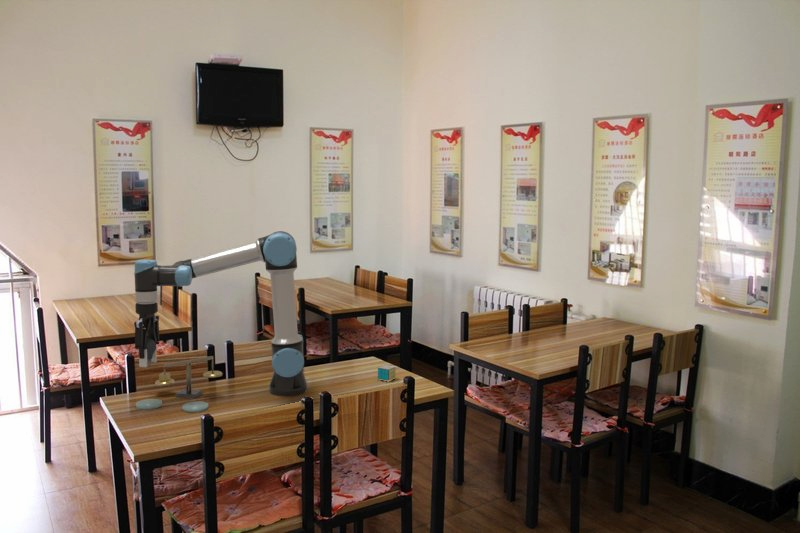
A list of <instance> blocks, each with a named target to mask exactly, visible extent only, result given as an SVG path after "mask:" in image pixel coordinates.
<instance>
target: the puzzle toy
mask: <svg viewBox="0 0 800 533" xmlns="http://www.w3.org/2000/svg"><path fill="white" fill-rule="evenodd" d="M396 370H397V369H396V367H395V366H391V365H388V364H384V365H381V366H380V367H377V379H378V378H379V379H383V380H391V379H393V378H395V379H396Z"/></svg>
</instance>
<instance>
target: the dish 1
mask: <svg viewBox="0 0 800 533" xmlns="http://www.w3.org/2000/svg"><path fill="white" fill-rule="evenodd" d="M162 406H163V401H162V399H159V398H144V399H141V400H139V401H136V402H135V409H137V410H141V411H143V410H144V411H148V410H155V409H158V408H161V407H162Z"/></svg>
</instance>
